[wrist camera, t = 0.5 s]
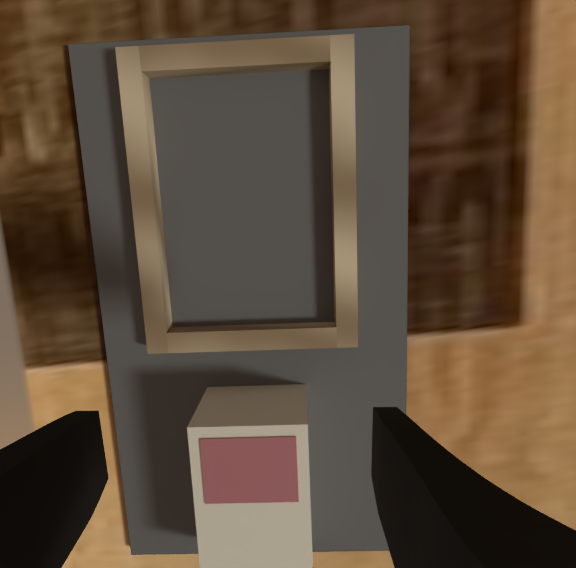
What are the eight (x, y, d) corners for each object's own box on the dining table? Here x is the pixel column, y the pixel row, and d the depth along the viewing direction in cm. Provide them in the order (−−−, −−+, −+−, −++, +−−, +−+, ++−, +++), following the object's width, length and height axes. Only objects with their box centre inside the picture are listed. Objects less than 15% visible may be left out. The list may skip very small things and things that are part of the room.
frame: (355, 340, 21) (358, 347, 20) (154, 346, 21) (147, 353, 20) (351, 43, 18) (354, 33, 17) (124, 55, 19) (115, 47, 18)
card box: (311, 540, 23) (314, 611, 19) (220, 541, 23) (203, 613, 19) (306, 384, 21) (307, 425, 17) (207, 387, 21) (186, 428, 17)
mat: (402, 543, 23) (405, 550, 23) (134, 547, 24) (131, 554, 23) (406, 30, 19) (409, 25, 18) (73, 48, 19) (67, 44, 19)
